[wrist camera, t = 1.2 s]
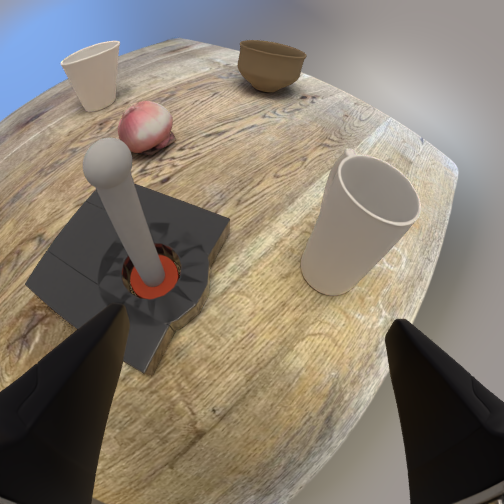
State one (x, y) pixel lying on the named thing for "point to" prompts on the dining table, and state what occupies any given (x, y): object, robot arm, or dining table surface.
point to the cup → (94, 74)
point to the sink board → (120, 267)
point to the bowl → (269, 64)
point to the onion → (146, 127)
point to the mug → (357, 221)
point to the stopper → (128, 216)
